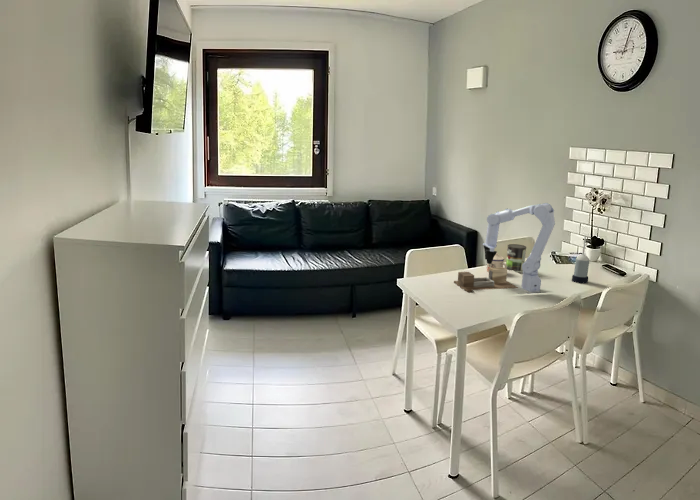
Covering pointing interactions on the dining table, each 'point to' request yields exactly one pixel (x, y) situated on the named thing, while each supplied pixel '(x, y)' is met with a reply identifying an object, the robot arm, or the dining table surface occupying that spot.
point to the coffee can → (515, 257)
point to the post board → (479, 283)
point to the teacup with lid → (496, 262)
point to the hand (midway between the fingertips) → (488, 261)
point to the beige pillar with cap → (498, 274)
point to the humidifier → (581, 268)
